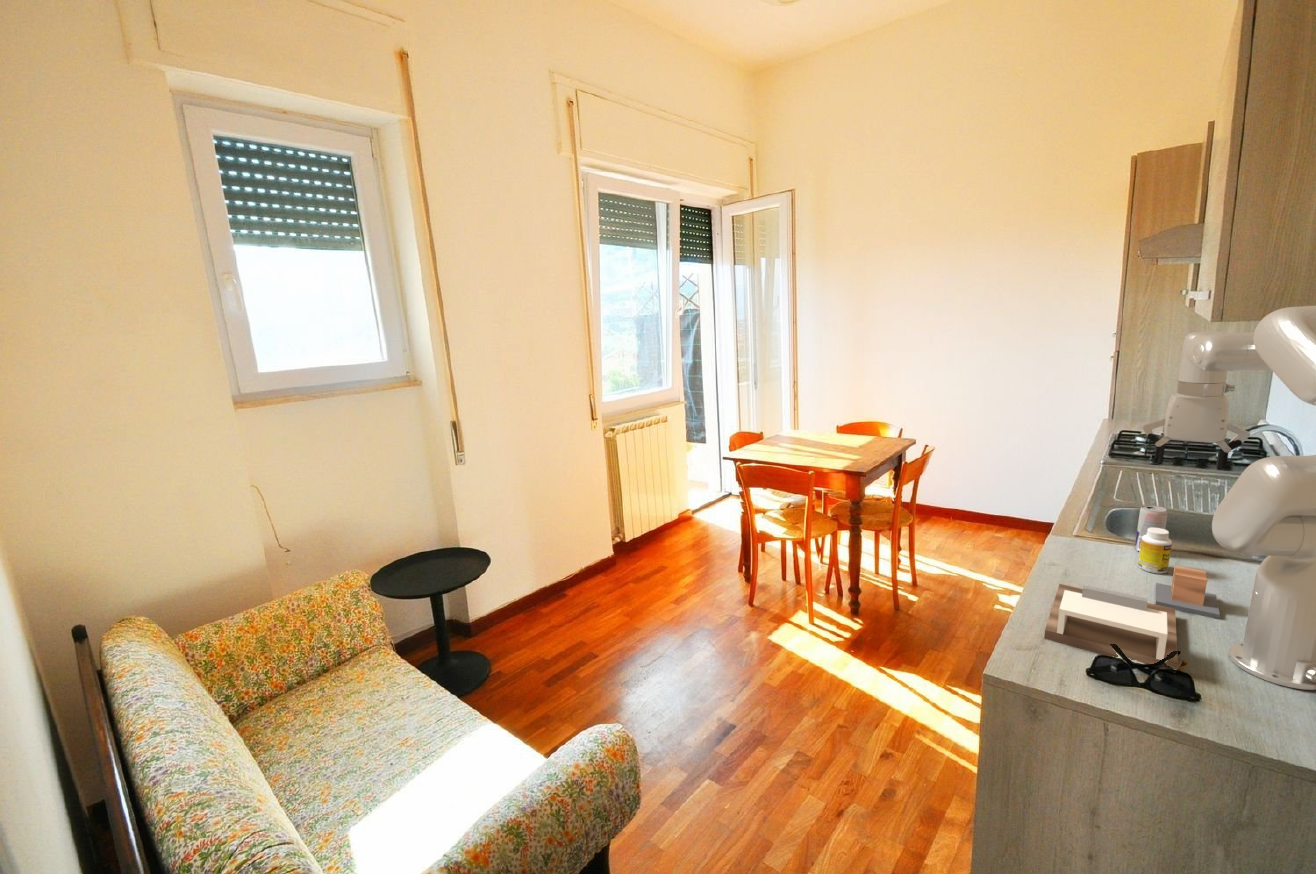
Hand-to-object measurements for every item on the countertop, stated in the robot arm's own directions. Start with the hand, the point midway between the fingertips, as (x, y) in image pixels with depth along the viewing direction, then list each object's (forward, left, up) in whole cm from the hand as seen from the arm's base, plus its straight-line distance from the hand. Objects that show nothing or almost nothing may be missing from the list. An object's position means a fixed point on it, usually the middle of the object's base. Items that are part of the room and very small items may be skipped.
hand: (1188, 465), depth 128 cm
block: (-8, +6, -27) cm, 29 cm away
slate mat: (-8, +6, -28) cm, 30 cm away
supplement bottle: (+6, -2, -29) cm, 29 cm away
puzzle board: (-12, +29, -28) cm, 43 cm away
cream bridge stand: (-17, +35, -26) cm, 47 cm away
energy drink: (+14, -10, -29) cm, 33 cm away
